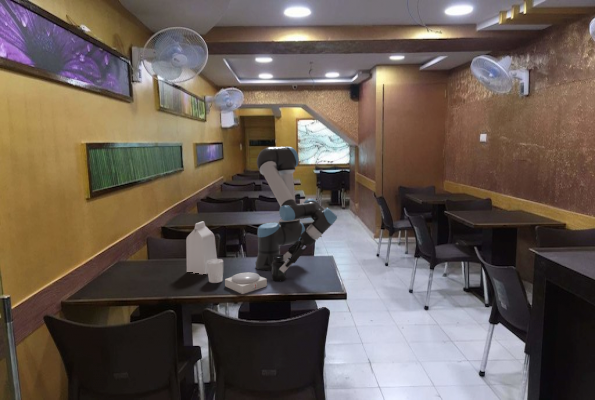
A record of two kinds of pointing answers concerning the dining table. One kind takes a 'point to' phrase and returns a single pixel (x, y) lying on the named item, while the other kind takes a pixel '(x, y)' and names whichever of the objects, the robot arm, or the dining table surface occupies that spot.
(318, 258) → the dining table surface
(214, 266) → the white cup
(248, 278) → the dial scale
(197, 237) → the milk
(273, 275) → the supplement bottle
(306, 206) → the robot arm
